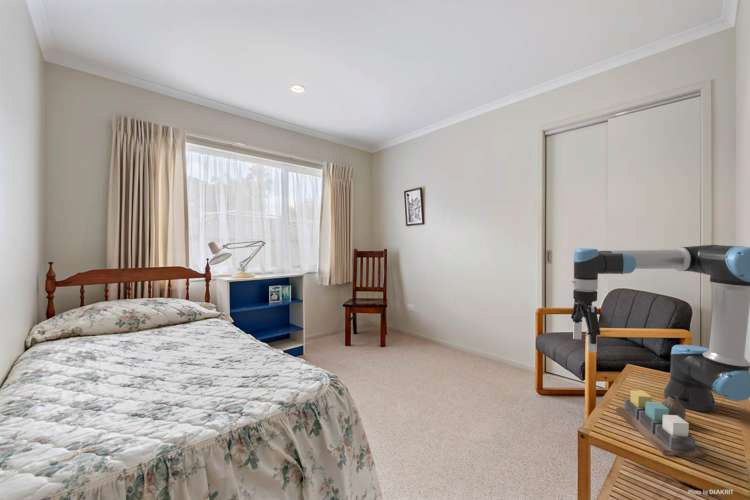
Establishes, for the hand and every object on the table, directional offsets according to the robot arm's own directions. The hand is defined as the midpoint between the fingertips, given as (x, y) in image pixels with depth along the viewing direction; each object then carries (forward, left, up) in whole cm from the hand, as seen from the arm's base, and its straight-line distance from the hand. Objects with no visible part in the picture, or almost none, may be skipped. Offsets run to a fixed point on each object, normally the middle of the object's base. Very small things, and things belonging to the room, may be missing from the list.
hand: (584, 345), depth 121 cm
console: (-20, +8, -28) cm, 35 cm away
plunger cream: (-20, +16, -23) cm, 35 cm away
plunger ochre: (-20, 0, -23) cm, 31 cm away
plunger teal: (-20, +8, -23) cm, 32 cm away
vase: (-31, 0, -28) cm, 42 cm away
